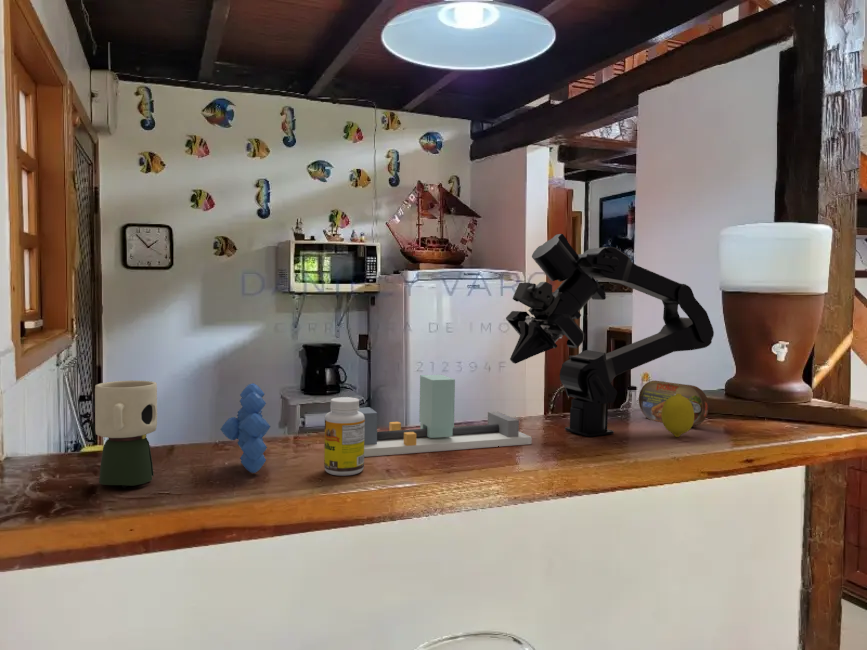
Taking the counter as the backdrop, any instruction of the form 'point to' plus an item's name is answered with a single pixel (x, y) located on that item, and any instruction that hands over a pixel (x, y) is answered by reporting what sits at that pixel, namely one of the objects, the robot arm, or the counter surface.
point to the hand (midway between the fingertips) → (512, 361)
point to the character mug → (126, 430)
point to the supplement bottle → (344, 437)
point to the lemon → (677, 415)
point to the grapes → (249, 428)
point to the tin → (660, 391)
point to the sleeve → (437, 405)
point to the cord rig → (464, 437)
